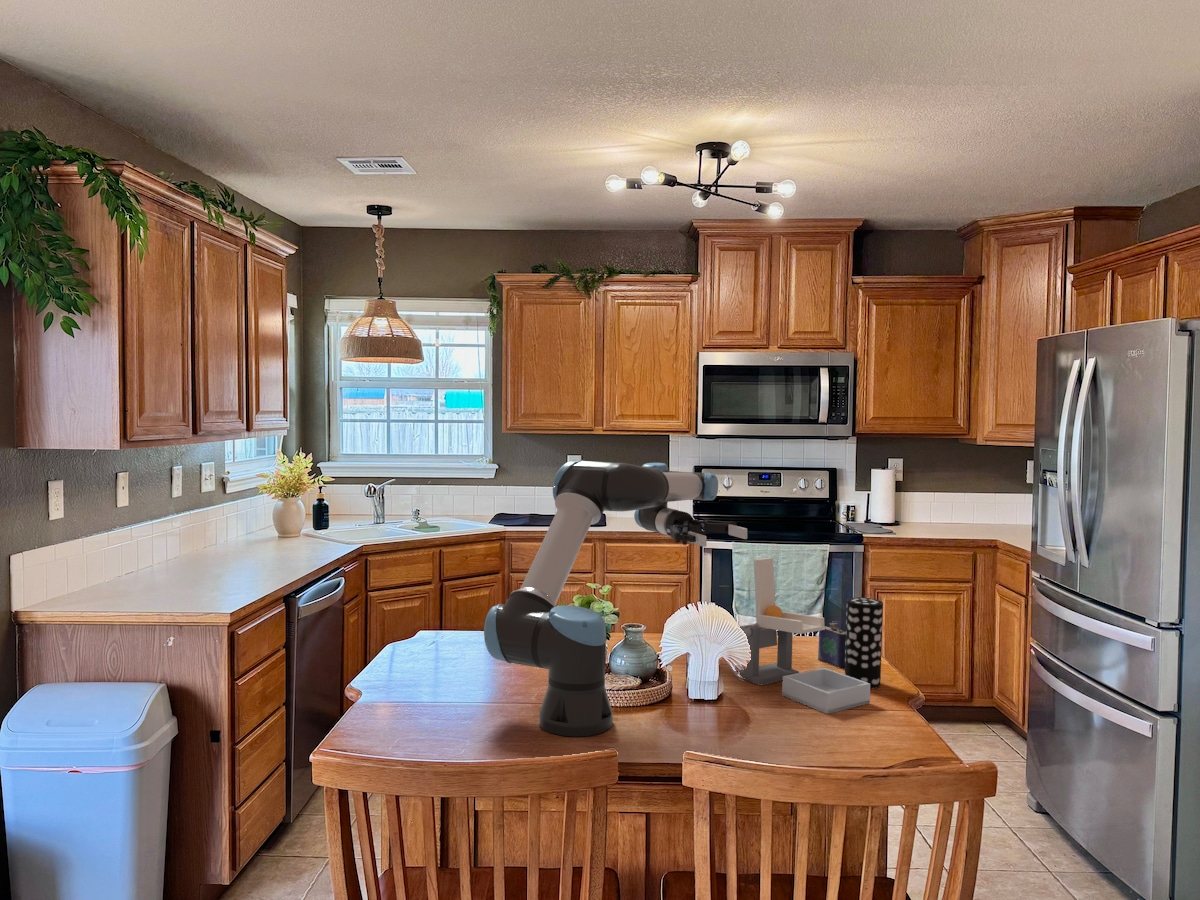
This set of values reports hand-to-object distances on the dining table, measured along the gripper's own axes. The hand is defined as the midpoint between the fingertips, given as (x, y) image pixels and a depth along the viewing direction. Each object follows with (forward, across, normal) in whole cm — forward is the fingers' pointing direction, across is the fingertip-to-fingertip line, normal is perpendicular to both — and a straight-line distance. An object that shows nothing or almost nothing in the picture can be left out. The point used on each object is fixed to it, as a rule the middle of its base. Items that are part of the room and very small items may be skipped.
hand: (726, 537), depth 215 cm
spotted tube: (+29, -17, -33) cm, 48 cm away
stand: (+14, -1, -32) cm, 36 cm away
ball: (+15, -2, -16) cm, 23 cm away
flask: (+14, -23, -34) cm, 44 cm away
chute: (+18, -1, -25) cm, 31 cm away
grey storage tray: (+33, -1, -32) cm, 46 cm away
